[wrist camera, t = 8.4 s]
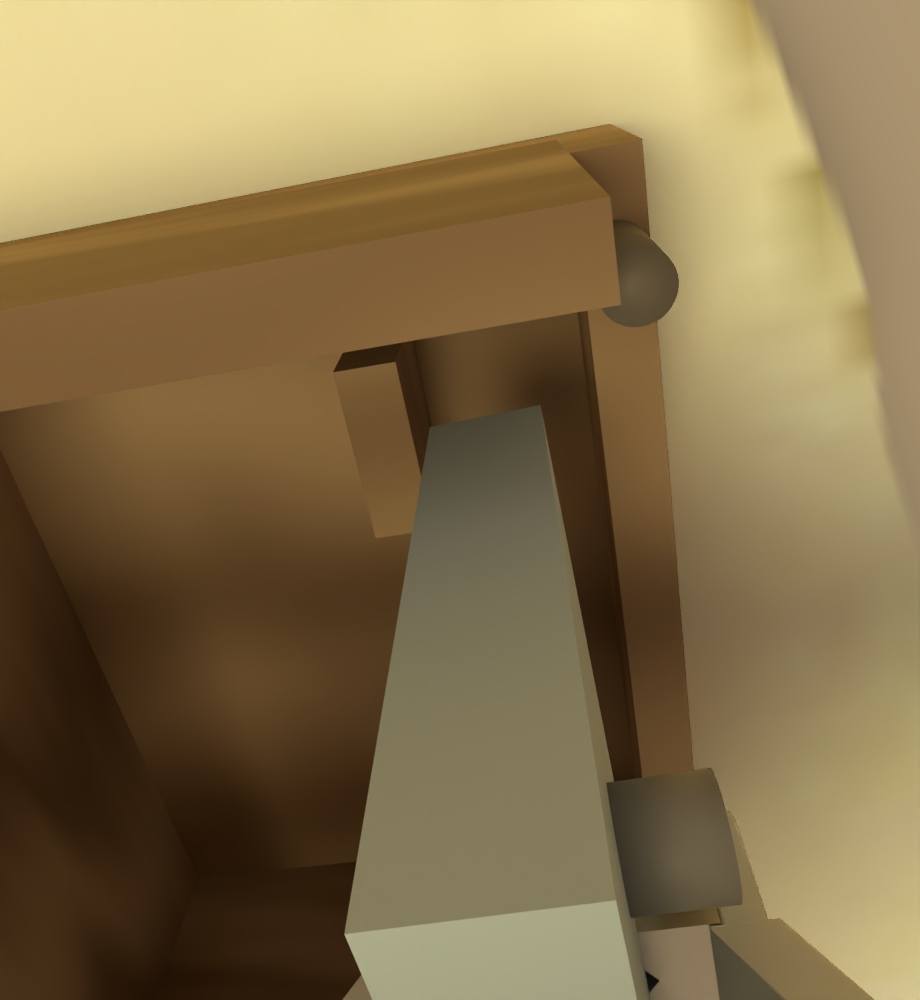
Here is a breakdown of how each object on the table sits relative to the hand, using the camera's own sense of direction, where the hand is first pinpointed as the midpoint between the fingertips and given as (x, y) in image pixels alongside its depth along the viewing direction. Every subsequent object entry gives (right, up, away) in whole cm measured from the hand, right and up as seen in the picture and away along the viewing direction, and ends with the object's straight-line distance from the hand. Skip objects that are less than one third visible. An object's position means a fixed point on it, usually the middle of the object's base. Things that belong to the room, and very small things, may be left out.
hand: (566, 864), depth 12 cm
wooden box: (-5, +3, +8) cm, 9 cm away
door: (0, +1, +3) cm, 3 cm away
